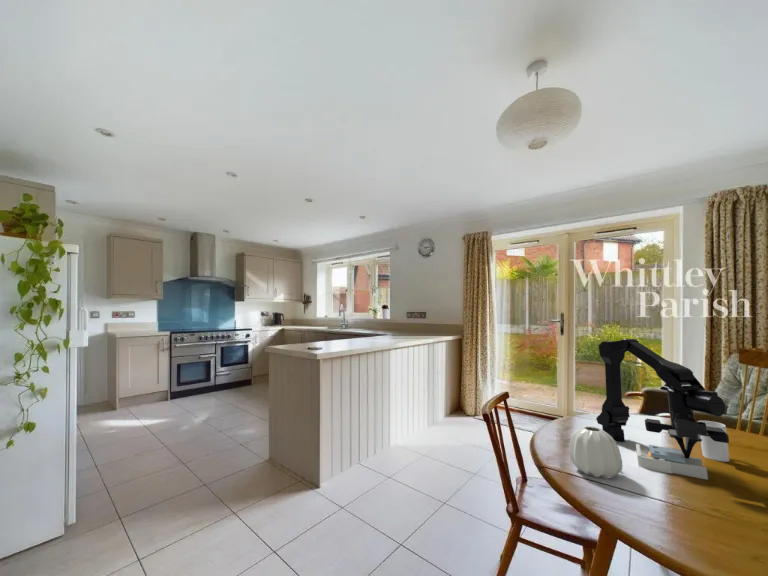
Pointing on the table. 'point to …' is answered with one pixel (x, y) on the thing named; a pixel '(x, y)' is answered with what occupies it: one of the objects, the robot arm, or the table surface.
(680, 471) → the white open box
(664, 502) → the table surface
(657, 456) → the cover
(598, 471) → the vase
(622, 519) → the table surface
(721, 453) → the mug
